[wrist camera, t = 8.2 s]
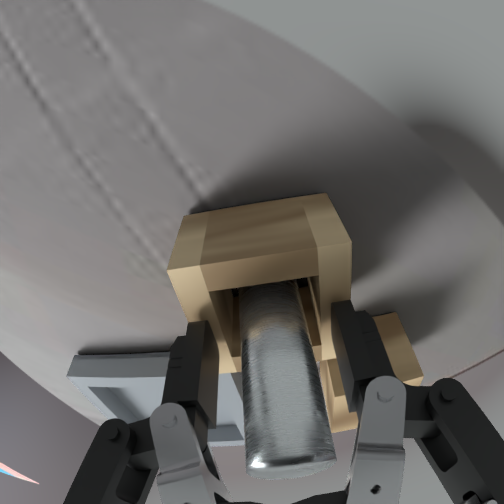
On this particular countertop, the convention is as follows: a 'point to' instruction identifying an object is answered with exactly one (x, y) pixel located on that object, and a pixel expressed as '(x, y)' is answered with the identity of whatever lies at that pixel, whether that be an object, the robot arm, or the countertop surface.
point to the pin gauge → (281, 386)
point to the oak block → (262, 265)
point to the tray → (151, 391)
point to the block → (400, 361)
